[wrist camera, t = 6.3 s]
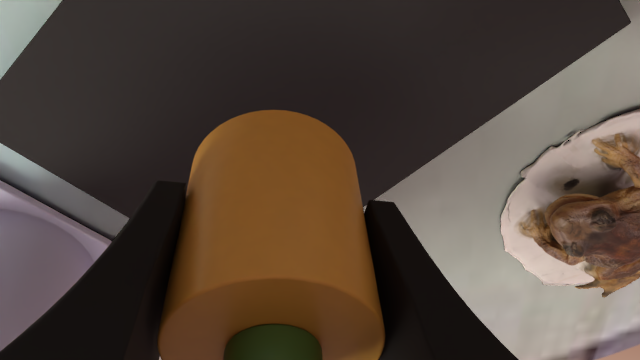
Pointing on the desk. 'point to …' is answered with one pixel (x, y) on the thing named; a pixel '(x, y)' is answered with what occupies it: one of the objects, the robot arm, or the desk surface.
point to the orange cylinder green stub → (272, 249)
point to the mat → (278, 79)
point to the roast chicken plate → (581, 209)
